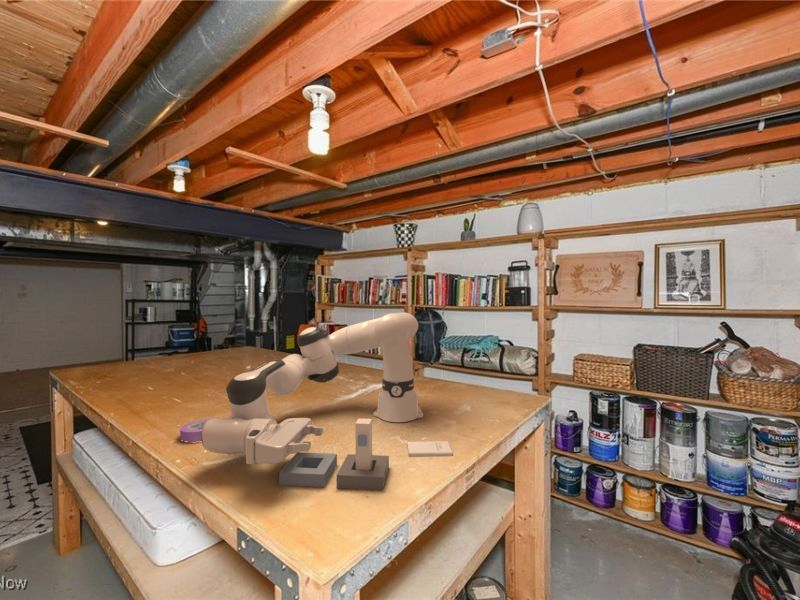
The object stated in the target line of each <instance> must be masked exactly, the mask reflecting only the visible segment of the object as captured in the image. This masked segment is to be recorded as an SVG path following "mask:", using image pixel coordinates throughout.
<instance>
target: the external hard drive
mask: <svg viewBox="0 0 800 600" xmlns="http://www.w3.org/2000/svg"><path fill="white" fill-rule="evenodd" d="M406 447H407V454H408V455H407V456H408V457H449V455H451V457H452V456H453V451H452V448H451V446H450V444H449V441H447V440H445V441H444V440H443V441H438V440H437V441H434V440H433V441H431V440H430V441H406Z"/></svg>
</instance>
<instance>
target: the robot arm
mask: <svg viewBox="0 0 800 600" xmlns="http://www.w3.org/2000/svg"><path fill="white" fill-rule="evenodd" d="M418 329H419V322H418V320H417V318H416V317H415V316H414V315H412V314H411V313H408V312H404V311H403V312H393V313H387V314H385V315H383V316H381V317H378V318H374V319H370V320H366V321H362V322H359V323H354V324H351V325H348V326H344V327H342V328H339V329H337V330H335V331H334V332H332V333H331V334H330V331H329V330H328V329H326V330H325V329H324V328H322V327H320V326H319V327H318V326H313V327H311V326H310V327H307V328H305V329H304V330H302V331H301V332H300V333H299V334H298V335H297V337H296V342H297V346H298V347H299V349H300V352H301V354H298V353H292V354H289V355H287V356H285V357H284V358H282V359H272V360H268V361H265V362H262V364H259V365H257V366H256V367H253V368H252V369H250V370H248V371H244V372H242V373H238V374H237V375H235V376H233V377H232V379H230V380H229V382H228V383H227V385H226V387H225V390H226V394H227V395H226V396H227V398H228V402H229V406H230V414H231V415H229V416H228V417H221V418H210V419H211V420H208V421H207V422H206V423H205V425H204V427H203V430H202V435H201V436H202V442H201V443H202V447H203V449H205V450H206V451H208V452H210V453H214V454H222V455H237V454H244V455H245V464H246V465H255V464H256V463H257V464H261V465H263V464H269V465H271V464H278V463H281V462H284V461H285V459H286V458H287V457H289V456H290V455H291V454H293V455H295V454H296V453H298V452H305V453H308V452H309V451H310V450H311V449H312V448H311V447H312V443H311V441H303V440H304V439H305V438H306V437H307V436H308V435H314V436H315V437H317V436H319V437H321V436H322V435H323V434H324V427H322V426H320V427H319V426H316V425H313V424H312V419H311V418H309V417H292V418H286V419H284V420H282V421H281V422H279V423H277V421H276V419H274V418H271V415H270V408H269V401H268V392H267V389H268V390H269V392H271V393H273V394H275V395H278V396H287V395H291V394H292V393H294V392H295V391H297V389H298V387H299V386H300V385H301V383H302V382H303V380H304V379H305V378H306V377H307V379H308V380H309V381H314V382H315V383H327V382H330V381H331V380H334V379H335V378H336V377H337V376H338V375H339V373H340V366H339V364H338V362H337V359H336V355H337V356H339V355H341V356H343V355H345V356H346V355H352V354H356V353H360V352H365V351H369V350H373V349H378V348H380V351H381V354H382V363H383V368H382V370H383V373H382V374H383V375H382V376H383V377H382V381H381V389H382V390H381V391H380V392H379V393H378V398H377V399H378V400H377V409H376V410H374V412H373V414H372V415H373V417H375V418H376V417H377V418H379V419H381V420H382V421H384V422H390V423H406V422H407V423H408V422H411V421H413V420H416V419H421V418H424V413H423V411H422V409H421V407H420V404H419V401H418V400H419V399H418V397H419V395H418V394H417V392H416V391H415V390H414V388H415V380H414V374H413V366H414V365H413V364H414V363H413V360H414V359H413V356H412V355H411V352H410V347H409V346H410V345H409V340H411V339H412V338H413V337H414V336H415V335H416V333H417V331H418ZM302 441H303V442H302Z"/></svg>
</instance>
